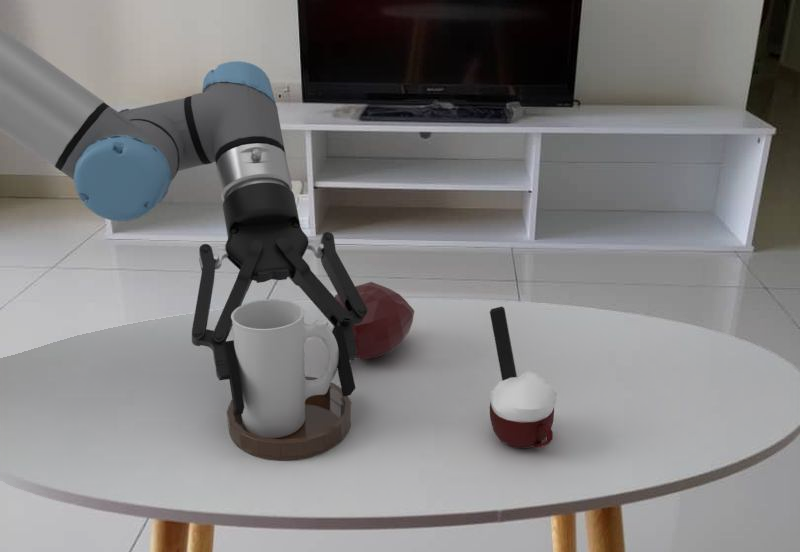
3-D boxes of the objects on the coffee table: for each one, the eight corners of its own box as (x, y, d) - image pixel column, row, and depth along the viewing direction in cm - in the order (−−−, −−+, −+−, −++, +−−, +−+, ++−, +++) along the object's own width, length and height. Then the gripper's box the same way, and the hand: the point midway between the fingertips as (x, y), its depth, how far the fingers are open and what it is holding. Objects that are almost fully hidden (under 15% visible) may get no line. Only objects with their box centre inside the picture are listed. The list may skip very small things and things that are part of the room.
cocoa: (561, 463, 70) (575, 350, 66) (495, 465, 70) (504, 351, 65) (537, 408, 79) (548, 305, 74) (478, 409, 79) (485, 306, 74)
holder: (238, 471, 68) (237, 453, 68) (221, 402, 79) (220, 385, 78) (366, 447, 72) (366, 429, 71) (333, 383, 83) (333, 368, 82)
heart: (407, 316, 97) (332, 331, 96) (401, 262, 94) (323, 277, 93) (428, 363, 86) (344, 380, 85) (422, 304, 83) (334, 321, 82)
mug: (238, 444, 72) (230, 332, 67) (239, 406, 78) (231, 301, 73) (343, 434, 73) (342, 324, 69) (336, 398, 79) (334, 295, 75)
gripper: (144, 187, 72) (172, 412, 65) (367, 171, 79) (416, 372, 72) (148, 223, 79) (173, 431, 71) (353, 205, 86) (397, 392, 78)
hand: (295, 401), depth 71 cm, fingers closed on mug, 10 cm apart
